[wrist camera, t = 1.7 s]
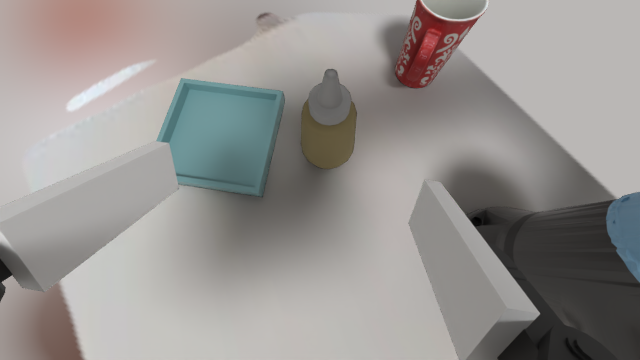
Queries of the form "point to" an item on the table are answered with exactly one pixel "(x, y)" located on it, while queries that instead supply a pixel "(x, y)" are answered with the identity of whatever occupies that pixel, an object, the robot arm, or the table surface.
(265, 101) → the tray
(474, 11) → the mug
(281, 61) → the table surface
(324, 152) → the squeeze bottle
